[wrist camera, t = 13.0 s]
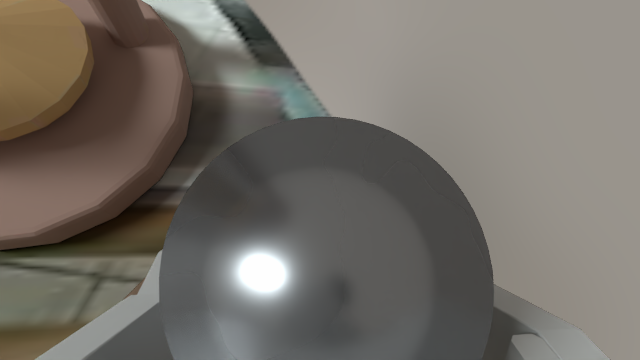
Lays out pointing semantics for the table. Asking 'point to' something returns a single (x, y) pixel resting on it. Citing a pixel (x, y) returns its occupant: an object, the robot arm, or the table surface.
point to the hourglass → (84, 113)
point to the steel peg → (325, 252)
